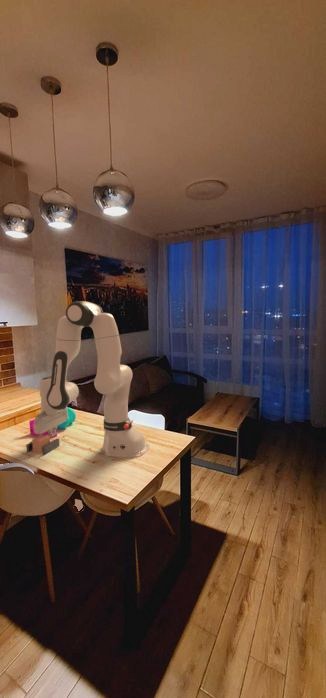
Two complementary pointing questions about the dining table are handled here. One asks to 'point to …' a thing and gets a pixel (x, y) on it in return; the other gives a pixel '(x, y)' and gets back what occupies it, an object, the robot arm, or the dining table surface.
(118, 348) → the robot arm
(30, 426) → the toy block
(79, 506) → the vase
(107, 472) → the dining table surface
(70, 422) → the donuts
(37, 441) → the terracotta block
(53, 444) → the guide channel
